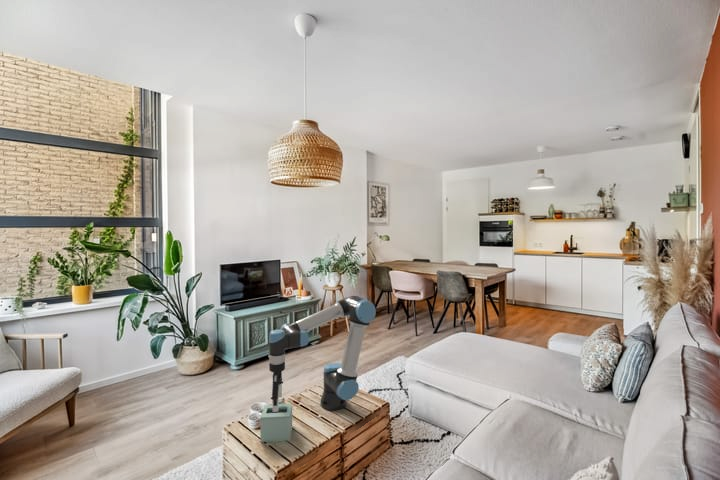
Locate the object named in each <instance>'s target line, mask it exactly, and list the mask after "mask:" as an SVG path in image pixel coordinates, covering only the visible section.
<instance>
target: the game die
mask: <svg viewBox="0 0 720 480" xmlns="http://www.w3.org/2000/svg"><path fill="white" fill-rule="evenodd" d="M278 404H286V402H285V397H283V398H282V399H281V398H280V399H278Z"/></svg>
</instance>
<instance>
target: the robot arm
mask: <svg viewBox="0 0 720 480" xmlns="http://www.w3.org/2000/svg"><path fill="white" fill-rule="evenodd" d="M376 313H377V311H376V306H375V305H374V303H373V302H372V301H370V300H369V299H366V298H363V297H360V296H358V295H352V296H351V295H350V296H347V297H345V298H343V299H340V300H338V301H335V303H334V304H332V305H331V306H328V307H326V308H324V309H322V310H320V311H317V312H315V313H312V314H311V315H308V316H306V317H304V318H301V319H299V320H297V321H295V322H292V323H284V324H283V325H281V327H280V329H274V330H271V331H270V332H269V336H268V337H269V338H268V345H269V347H268V349H269V355H268V357H267V358H269V364H268V365H269V366H268V367H269V371H270V372H271V373H273V374H272V392H271V397H270V400H272V407H273V412H278V411H279V410H278V400H279V398H282V397H283V394H282V391H283V390H282V389H283V386H282V385H283V384H284V380H283V375H282V374H283V373H282V372H283V371H284V370H285V369H286V362H285V361H286V350H290V349H294V348H295V349H297V348H301V347H305V346H308V344H309V343H310V341H309V339H310V336H309V333H308V332H310V331H311V330H314V329H316V328H319V327H320V326H323V325H325V324H327V323H329V322H331V321H333V320H336V319H339V318H344V317H348V316H349V317H348V323H349V324H350V325H349V331H348V335H347V339H346V342H345V348H344V351H343V356H342V359H341V363H339V362H333V363H332V362H331V363H328V364H326V365H325V366H324V367H323V392H322V395H321V398H320V402H319V403H320V407H322V409H325V410H327V411H339V410H341V409H343V408H345V407H346V405H347V401H348V400H351V399H353V398H354V397H356V395H357V394H358V391H359V387H360V386H359V383H358V382H357V379H358V375H359V373H358V372H357V367H358V362H359V358H360V353H361V349H362V346H363V340H364V336H365V331H366V328H367V327H369V326H370V323H371V322H372V321H373V320H374V319H375V317H376Z"/></svg>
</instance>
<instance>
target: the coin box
mask: <svg viewBox="0 0 720 480" xmlns="http://www.w3.org/2000/svg"><path fill="white" fill-rule="evenodd" d="M278 410H279V411H285V413H271V411H273V407H272V404H267V403H266V404H264V406H263V408H262V412H261V415H260V418H259V419H260V421H259V422H260V423H259V424H260V425H259V426H260V428H259V429H260V438H259V439H260V443H264V442H267V443H268V442H282V441H284V442H285V441H291V437H292V429H293V403H290V402H289V403H285V404H278Z"/></svg>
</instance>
